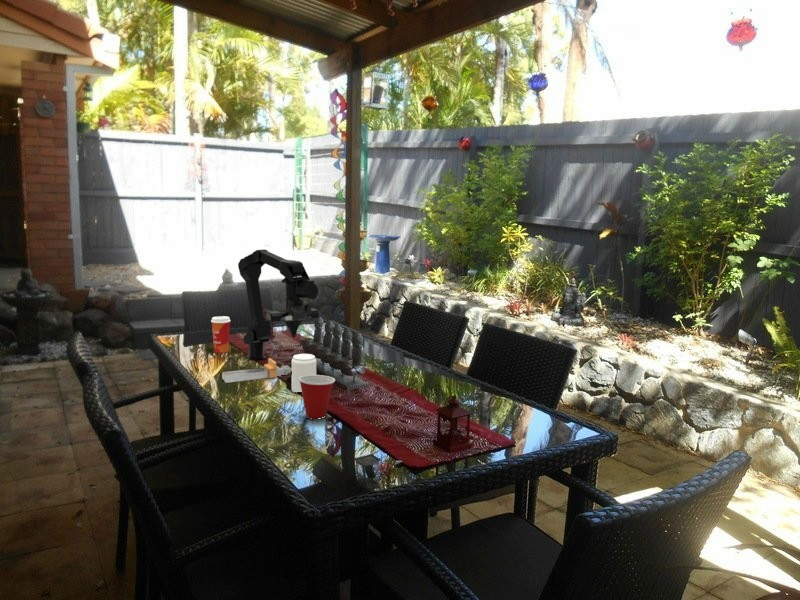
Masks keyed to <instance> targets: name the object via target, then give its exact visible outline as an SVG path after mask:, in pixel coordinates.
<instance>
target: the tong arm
mask: <svg viewBox="0 0 800 600" xmlns="http://www.w3.org/2000/svg"><path fill="white" fill-rule="evenodd" d="M276 366H277V368H280V367H279V366H278V365H276ZM258 370H267V368H264V367H261V368H250V369H249V368H248V369H242V370H231V371H222V373H221V374H222V375H221V376H222V380H223V381H224V374H231V373H240V372H249V371H258Z"/></svg>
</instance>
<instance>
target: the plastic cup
mask: <svg viewBox="0 0 800 600" xmlns="http://www.w3.org/2000/svg"><path fill="white" fill-rule="evenodd" d="M299 381H300V385H301V389H302V394H301V395H302V400H303V406H304V411H305V415H306V418H307V417H309V418H312V419H318V418H322V417H324V416H326V417H327V412H328V407H329V404H330V403H329V402H330V398H331V393H332V389H333V385H334V383H335V382H336V379H335V378H334V377H332V376H329V375H323V374H321V375H320V374H316V375H305V376H301V377H299ZM312 419H311V420H312Z"/></svg>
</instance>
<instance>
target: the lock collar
mask: <svg viewBox="0 0 800 600" xmlns="http://www.w3.org/2000/svg"><path fill="white" fill-rule="evenodd" d="M277 366H278V365H277V362H276V361H275V360H274V359H272V358H271V357H269V358H268V357H267V363H264V364H263V368H267V369H268V370H269V378H268V379H273V378H278V377H277Z"/></svg>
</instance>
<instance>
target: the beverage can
mask: <svg viewBox="0 0 800 600" xmlns="http://www.w3.org/2000/svg"><path fill="white" fill-rule="evenodd" d="M291 368H292V375H291V391H292V392H293V393H295V392H302V389H301V385H300V381H299V377H301V376H305V375H317V359H316V356H315V355H314V354H311V353H299V354H294V355H293V357H292V359H291Z"/></svg>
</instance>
